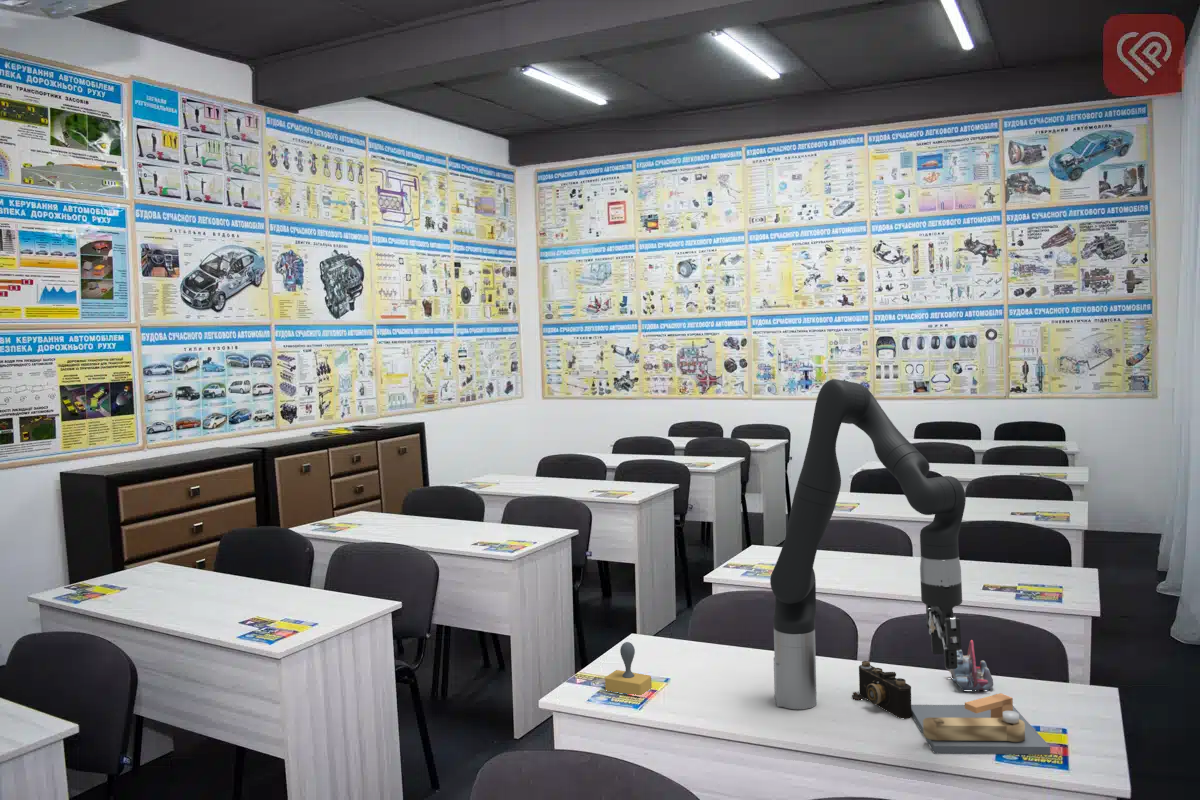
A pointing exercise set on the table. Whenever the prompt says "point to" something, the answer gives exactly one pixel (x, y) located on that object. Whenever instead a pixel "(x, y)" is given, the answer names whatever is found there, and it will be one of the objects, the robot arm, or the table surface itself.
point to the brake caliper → (971, 672)
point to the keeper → (991, 705)
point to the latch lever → (973, 729)
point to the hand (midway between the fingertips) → (944, 660)
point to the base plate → (1027, 746)
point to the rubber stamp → (628, 676)
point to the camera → (884, 690)
